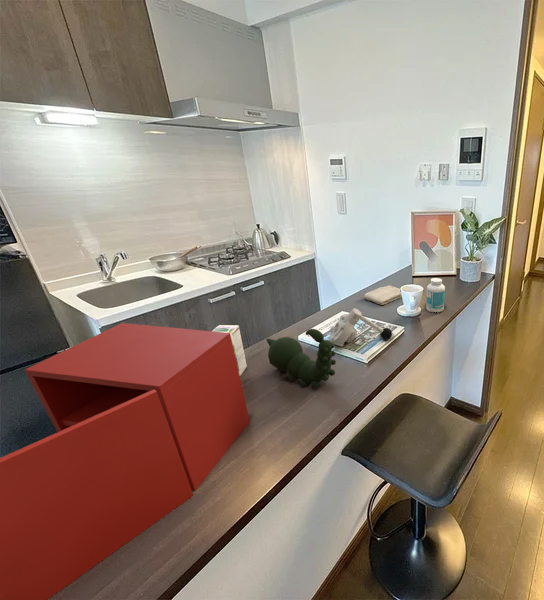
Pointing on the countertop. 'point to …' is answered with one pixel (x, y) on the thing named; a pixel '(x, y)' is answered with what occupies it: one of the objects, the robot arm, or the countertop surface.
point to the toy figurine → (302, 359)
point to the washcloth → (383, 295)
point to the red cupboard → (152, 386)
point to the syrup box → (235, 344)
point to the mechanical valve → (346, 328)
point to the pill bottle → (435, 295)
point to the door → (85, 496)
